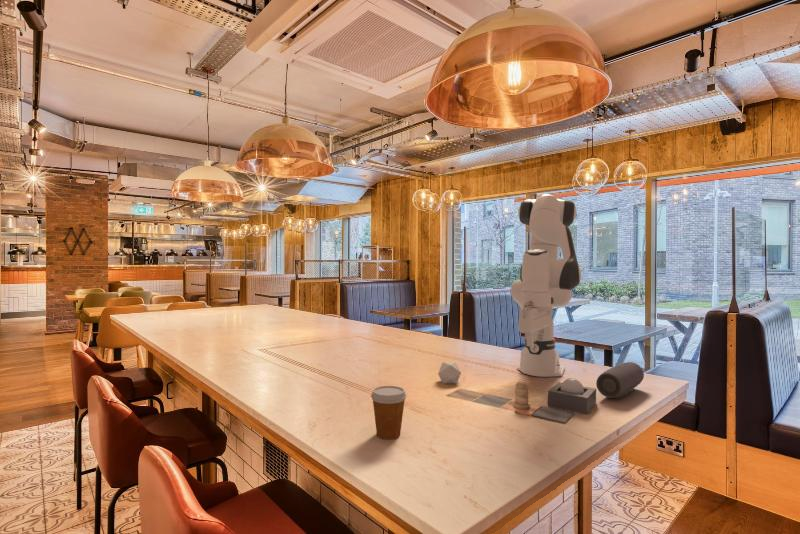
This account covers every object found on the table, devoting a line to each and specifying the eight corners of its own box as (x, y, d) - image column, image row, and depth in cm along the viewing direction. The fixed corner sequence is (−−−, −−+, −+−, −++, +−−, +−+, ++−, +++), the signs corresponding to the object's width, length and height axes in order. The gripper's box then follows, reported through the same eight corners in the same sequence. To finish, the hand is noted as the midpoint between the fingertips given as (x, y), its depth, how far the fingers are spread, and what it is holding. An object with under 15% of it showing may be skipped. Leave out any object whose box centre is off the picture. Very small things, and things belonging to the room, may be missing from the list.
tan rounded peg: (517, 401, 143) (518, 377, 143) (532, 405, 140) (533, 381, 140) (510, 406, 139) (510, 381, 139) (525, 410, 136) (526, 385, 136)
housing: (558, 396, 151) (558, 382, 151) (596, 403, 144) (596, 388, 144) (547, 406, 142) (547, 390, 142) (587, 414, 135) (587, 398, 134)
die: (454, 389, 160) (467, 367, 163) (434, 377, 162) (447, 354, 165) (451, 391, 168) (463, 369, 171) (432, 379, 170) (444, 357, 172)
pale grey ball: (563, 394, 148) (564, 374, 148) (586, 398, 144) (586, 378, 143) (557, 400, 142) (557, 379, 142) (580, 404, 138) (581, 383, 138)
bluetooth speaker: (618, 384, 166) (618, 358, 166) (645, 390, 159) (645, 362, 159) (593, 398, 150) (594, 369, 150) (622, 404, 144) (623, 374, 143)
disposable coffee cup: (370, 428, 122) (370, 385, 122) (404, 427, 123) (404, 384, 123) (371, 442, 113) (371, 396, 113) (407, 441, 114) (408, 395, 113)
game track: (459, 389, 158) (459, 388, 158) (574, 413, 135) (574, 412, 135) (445, 396, 150) (445, 395, 150) (565, 423, 127) (565, 421, 127)
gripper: (533, 304, 130) (533, 350, 130) (555, 298, 146) (555, 339, 146) (513, 302, 133) (513, 348, 134) (537, 296, 150) (536, 337, 150)
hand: (535, 343), depth 140 cm, fingers open, 8 cm apart
